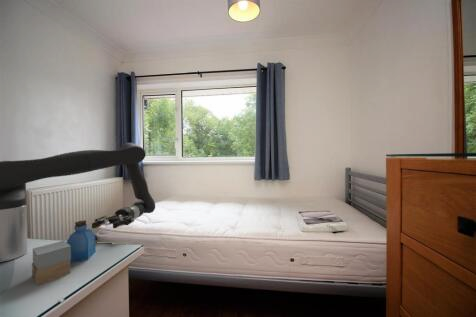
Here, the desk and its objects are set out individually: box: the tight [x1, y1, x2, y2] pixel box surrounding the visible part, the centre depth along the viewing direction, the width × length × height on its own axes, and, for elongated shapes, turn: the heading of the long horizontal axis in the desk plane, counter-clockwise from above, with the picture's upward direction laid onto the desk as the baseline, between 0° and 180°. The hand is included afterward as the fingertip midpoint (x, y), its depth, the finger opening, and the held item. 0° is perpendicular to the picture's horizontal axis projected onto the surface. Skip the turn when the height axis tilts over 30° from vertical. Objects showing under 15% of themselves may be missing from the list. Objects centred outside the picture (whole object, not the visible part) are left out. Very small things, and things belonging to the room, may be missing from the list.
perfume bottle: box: [65, 220, 96, 263], centre depth 70 cm, size 6×6×12 cm
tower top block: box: [32, 240, 71, 270], centre depth 60 cm, size 7×7×4 cm
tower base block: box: [31, 260, 72, 286], centre depth 59 cm, size 7×7×4 cm
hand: (103, 225), depth 81 cm, fingers open, 8 cm apart
